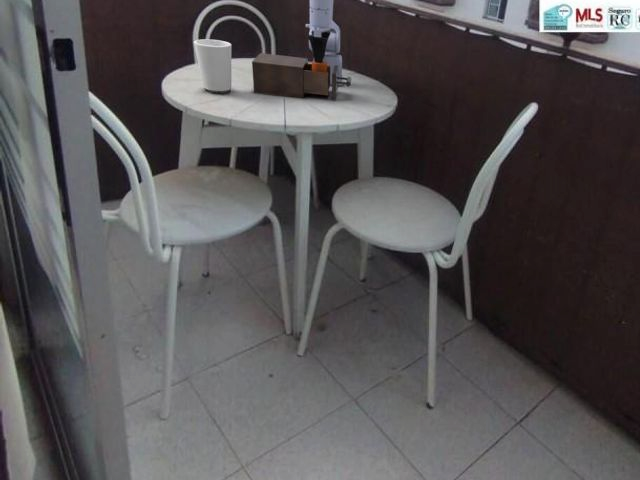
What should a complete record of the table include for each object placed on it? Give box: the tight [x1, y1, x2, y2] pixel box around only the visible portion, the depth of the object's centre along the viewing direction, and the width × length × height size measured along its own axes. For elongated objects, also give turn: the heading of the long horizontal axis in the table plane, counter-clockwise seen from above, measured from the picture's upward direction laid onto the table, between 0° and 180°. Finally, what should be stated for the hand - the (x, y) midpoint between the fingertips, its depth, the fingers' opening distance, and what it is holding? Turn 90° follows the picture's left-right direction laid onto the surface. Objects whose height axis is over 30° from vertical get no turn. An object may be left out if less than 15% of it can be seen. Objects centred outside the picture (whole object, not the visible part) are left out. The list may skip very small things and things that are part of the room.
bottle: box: [311, 60, 327, 73], centre depth 157 cm, size 5×5×8 cm
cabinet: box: [251, 52, 309, 99], centre depth 156 cm, size 15×14×9 cm
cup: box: [193, 38, 232, 95], centre depth 146 cm, size 10×10×13 cm
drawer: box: [303, 62, 352, 99], centre depth 158 cm, size 18×12×7 cm
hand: (319, 60), depth 155 cm, fingers open, 7 cm apart
